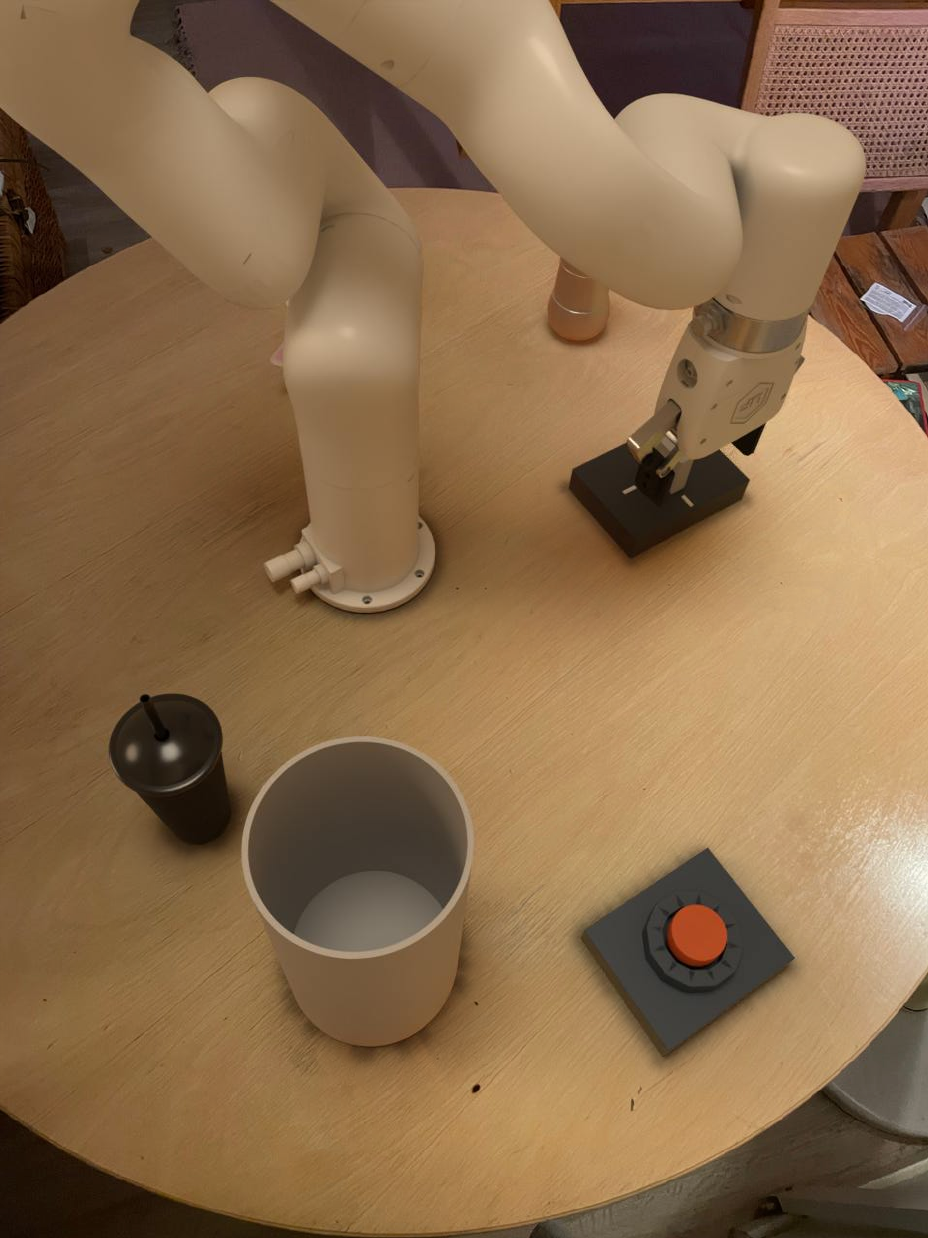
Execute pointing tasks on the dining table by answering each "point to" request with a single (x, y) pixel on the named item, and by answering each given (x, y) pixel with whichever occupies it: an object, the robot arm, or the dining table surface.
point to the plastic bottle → (577, 304)
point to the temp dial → (680, 468)
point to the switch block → (662, 984)
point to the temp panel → (634, 515)
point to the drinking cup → (174, 763)
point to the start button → (696, 935)
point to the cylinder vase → (362, 884)
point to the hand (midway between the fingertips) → (694, 468)
